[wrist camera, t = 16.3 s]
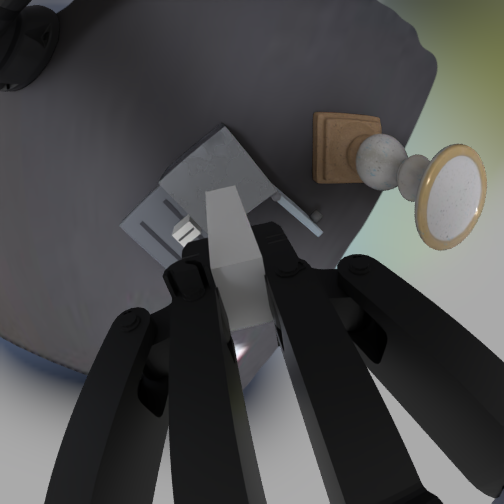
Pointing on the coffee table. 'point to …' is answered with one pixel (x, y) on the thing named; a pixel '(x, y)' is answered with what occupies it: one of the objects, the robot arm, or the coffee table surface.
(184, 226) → the fader
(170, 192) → the cabinet
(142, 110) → the coffee table surface
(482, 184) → the candle holder
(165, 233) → the console
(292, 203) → the door
